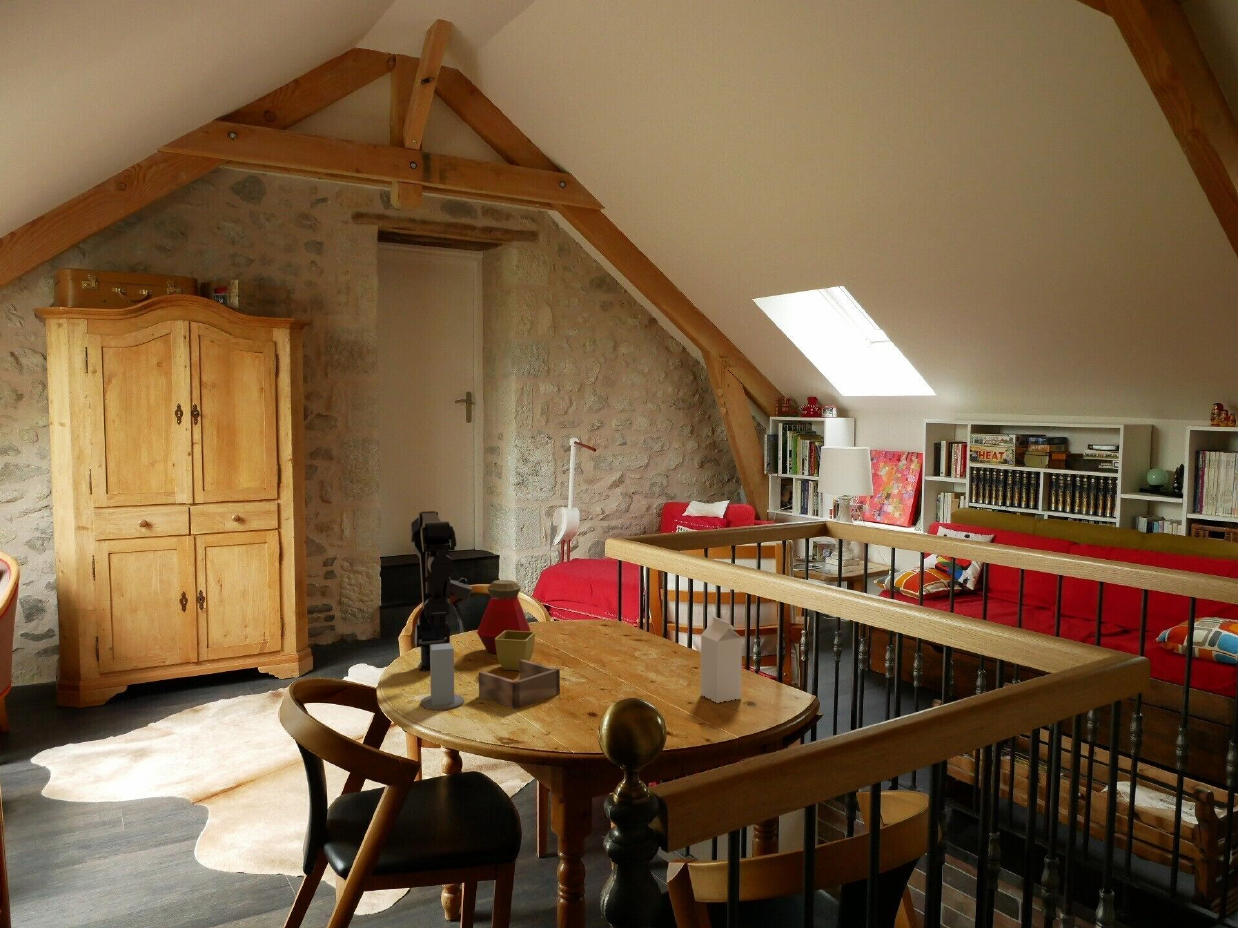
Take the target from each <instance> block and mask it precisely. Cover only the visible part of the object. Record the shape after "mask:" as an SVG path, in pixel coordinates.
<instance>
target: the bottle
mask: <svg viewBox="0 0 1238 928" xmlns="http://www.w3.org/2000/svg"><path fill="white" fill-rule="evenodd" d="M521 587H522V586H521V585H520V584H518V583H517V582H516V581H515V580H512V579H498V580H494V581H492V582H491V583H490V584H489V585H488V586H487V588H486V589H487V591H488V593H489V596H490V598H489V601H488V604H487V606H486V608H485V611H484V614H483V616H482V618H481V620H480V624H479V626H478V628H477V632H476V634H477V635H478V637H479V639H480V640H481V642H482V644H483V646H484V648H485V650H486V651H487V653H488V654H491V655H496V656H497V652H496V645H495V638H496V637H498V636H499V635H500V634H501V633H503V632H504V631H526V632H531V627H530V625H529V622H528V619H527V616H526V614H525V612H524V610H523V607H522V605H521V602H520V599H519V597H518V596H519V593H520V591H521Z"/></svg>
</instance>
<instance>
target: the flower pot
mask: <svg viewBox="0 0 1238 928" xmlns="http://www.w3.org/2000/svg"><path fill="white" fill-rule="evenodd" d="M535 637H536V631H530V632H526V631H504V632H503V633H501V634H500V635H499V636H498V637H496V638H495V645H496V652H497V655H496V657H497V660H498V663H499V664H500V667H502V669H503V670H505V671H519V660H522V659H523V660H527V661H530V660H531V659H532V656H533V652H534V646H535V639H536V638H535Z"/></svg>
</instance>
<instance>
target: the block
mask: <svg viewBox="0 0 1238 928" xmlns="http://www.w3.org/2000/svg"><path fill="white" fill-rule="evenodd" d="M454 649H455V648H454V646H453V643H451V642H450V643H445V644H432V645H430V670H429V672H430V673H429V674H430V676H429V677H430V696H431V701H432V704H433V705H439V704H449V703H454V694H455V661H454V660H455V657H454V656H455V655H454V654H455V650H454Z"/></svg>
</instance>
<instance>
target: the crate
mask: <svg viewBox="0 0 1238 928" xmlns="http://www.w3.org/2000/svg"><path fill="white" fill-rule="evenodd" d="M560 672H561V669H559V668H554V667H552V666H549V665H545V664H541V663H537V662H535V661H527V660H523V659H522V660H519V675H518V676H519V678H518V679H519V680H514V679H510V678H507V677H503V676H500V675H497V674H495V673H494V674H493V673H490V672H488V671H484V670H481V671H478V697H480V698H483V699H486V700H488V701H491V702H494V703H497V704H501V705H503V706H506V707H510V708H512V709H515V710H516V709H519V708H522V707H525V706H528V705H531V704H533V703H534V704H535V703H536V702H539V701H543V700H546V699H548V698H551V697H555V696H557V695H560V693H561V688H560V687H561V681H560V680H561V677H560V676H561V673H560Z"/></svg>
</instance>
